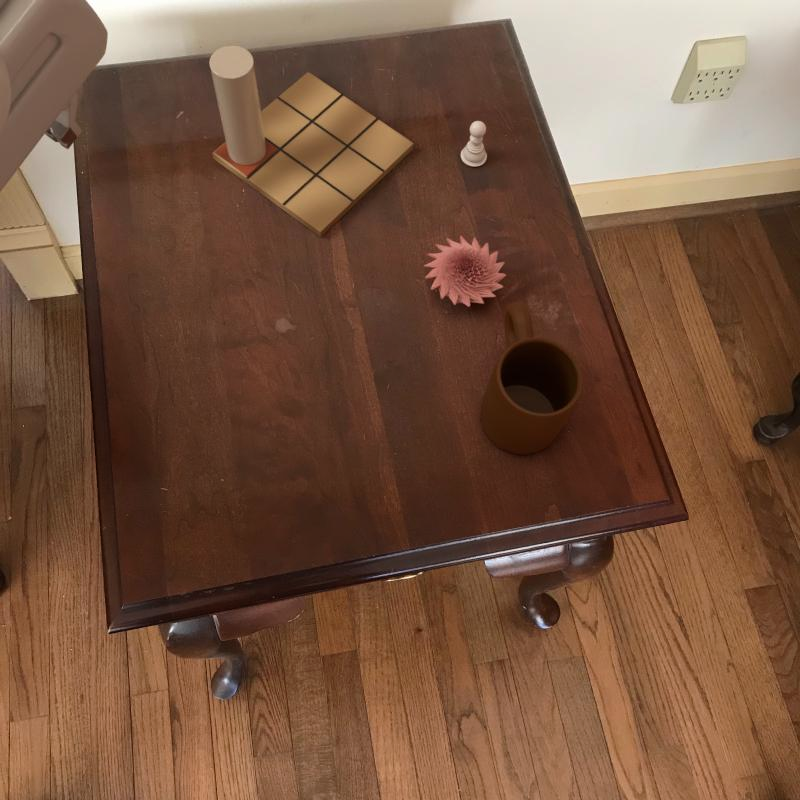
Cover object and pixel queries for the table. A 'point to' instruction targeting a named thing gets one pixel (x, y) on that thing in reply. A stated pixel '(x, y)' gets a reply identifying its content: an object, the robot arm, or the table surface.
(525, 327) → the mug
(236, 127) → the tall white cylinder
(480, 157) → the chess pawn
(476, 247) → the flower
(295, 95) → the board
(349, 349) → the table surface
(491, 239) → the table surface
